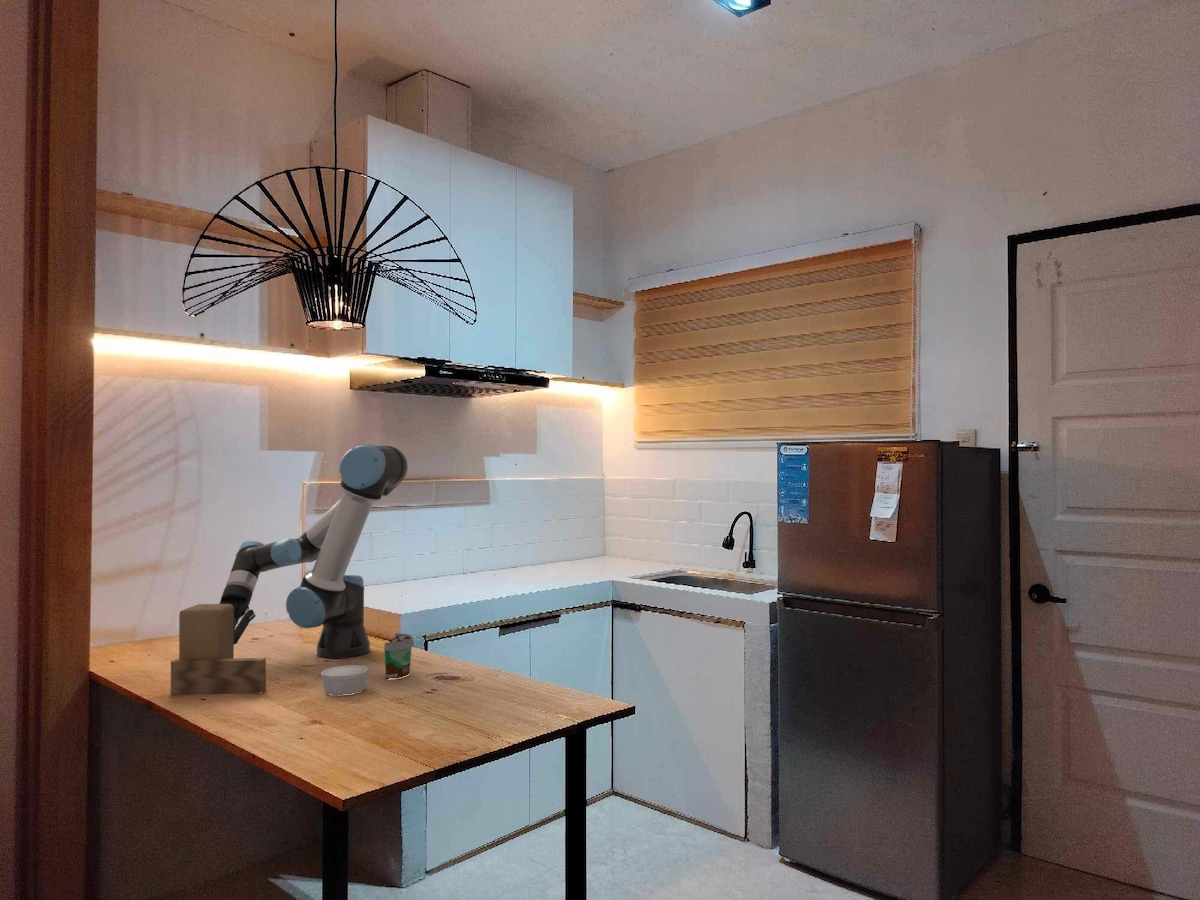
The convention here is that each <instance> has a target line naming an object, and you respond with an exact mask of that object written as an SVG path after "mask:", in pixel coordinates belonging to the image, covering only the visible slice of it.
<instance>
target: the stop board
mask: <svg viewBox="0 0 1200 900" xmlns="http://www.w3.org/2000/svg"><path fill="white" fill-rule="evenodd" d="M265 690H267V657H244V658H243V657H241V658H240V657H237V658H235V657H234V658H226V659H179V658H177V659H174V660H172V661H170V695H171V694H178V695H218V694H219V695H220V694H221V695H222V694H223V695H224V694H225V695H226V694H227V695H228V694H229V695H230V694H231V695H232V694H237V695H238V693H239V694H261V693H260V692H263V691H264V692H266V691H265ZM264 692H263V693H264Z"/></svg>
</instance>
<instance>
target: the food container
mask: <svg viewBox="0 0 1200 900" xmlns="http://www.w3.org/2000/svg"><path fill="white" fill-rule="evenodd" d="M414 645H415V642H414V639H413V636H412V635H411V634H408V633H395V634H394V638H393V639H392V638H391V639H390V640H389V642H384V647H383V648H384V663H385V664H384V666H385V680H386V679H389V678H399V677H403V676H406V675H408V674H409V673H410V672H411V662H412V661H411V660H412V659H411V658H412V648H413V646H414Z"/></svg>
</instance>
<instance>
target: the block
mask: <svg viewBox="0 0 1200 900" xmlns="http://www.w3.org/2000/svg"><path fill="white" fill-rule="evenodd" d="M178 619H179V621H178V624H179V625H178V627H179V629H178V633H179V635H178V638H179V639H178V642H179V643H178V644H179V645H178V647H179V649H178V651H179V653H178V654H179V656H178V657H179V658H178V659H226V658H235V657H234V651H235V649H234V646H235V645H234V607H233V605H231V604H219V603H198V604H196V605H193V606H190V607H187V608H185V609H182V610H180V611H179V616H178Z"/></svg>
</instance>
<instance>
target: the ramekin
mask: <svg viewBox="0 0 1200 900" xmlns="http://www.w3.org/2000/svg"><path fill="white" fill-rule="evenodd" d="M369 674H370V669H369V667H367V666H365V665H361V664H360V665H359V664H353V665H352V664H351V665H350V664H348V665H346V664H345V665H338V666H332V667H329V668H326V669H324V670H322V671H320V678H321V679H322V685H323V690H324V692H325V694H326V693H327V694H332V695H343V694H352V693H357V692H360V691H362V690H364V691H365V689H366V687H367V681H368V675H369ZM327 694H326V695H327Z"/></svg>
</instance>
